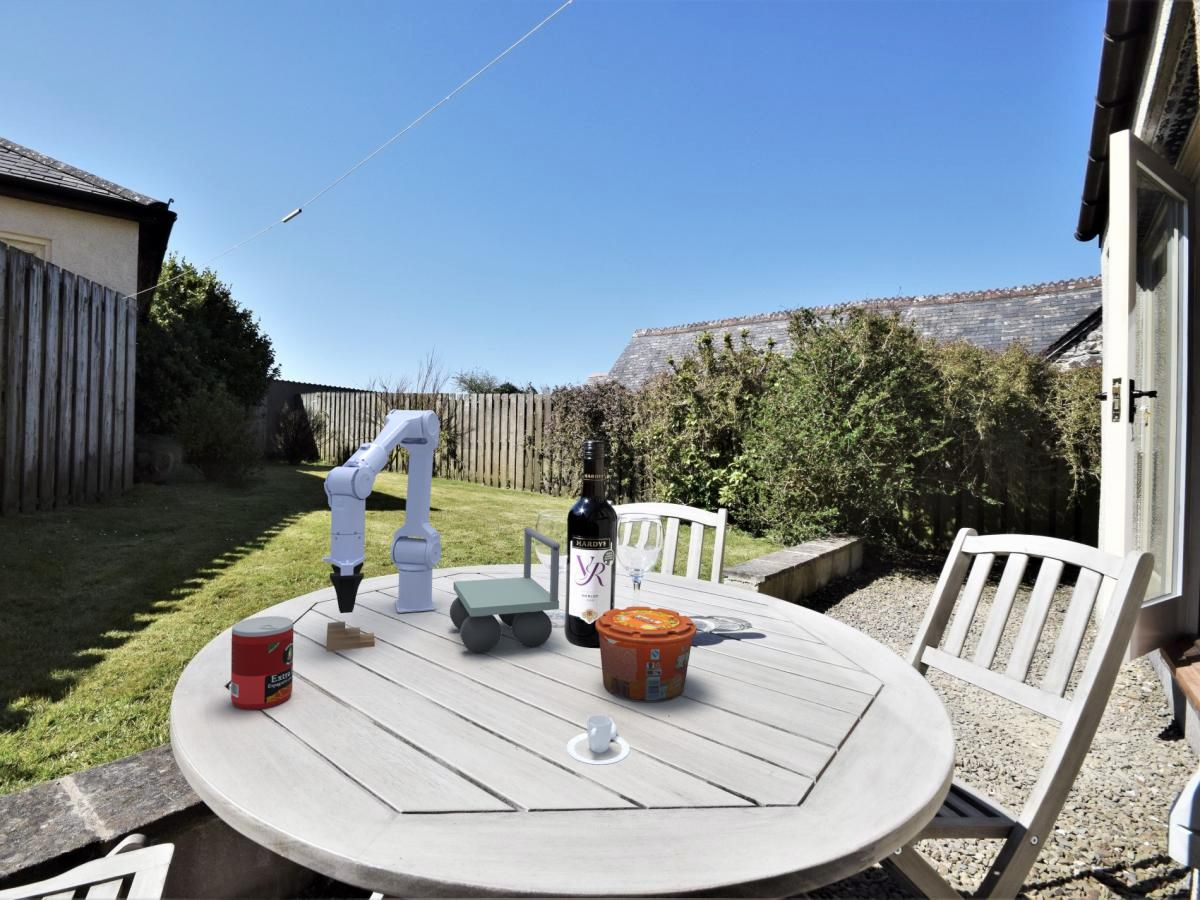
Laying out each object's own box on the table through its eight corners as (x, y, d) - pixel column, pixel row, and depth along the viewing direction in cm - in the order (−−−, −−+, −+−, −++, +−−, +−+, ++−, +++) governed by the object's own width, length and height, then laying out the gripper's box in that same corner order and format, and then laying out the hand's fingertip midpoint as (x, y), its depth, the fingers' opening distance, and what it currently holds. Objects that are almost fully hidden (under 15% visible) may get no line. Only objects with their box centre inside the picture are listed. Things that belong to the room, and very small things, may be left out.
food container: (709, 680, 100) (711, 615, 100) (669, 718, 86) (671, 642, 86) (623, 660, 108) (625, 599, 108) (574, 691, 95) (575, 622, 94)
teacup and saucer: (598, 728, 84) (598, 698, 84) (645, 748, 79) (646, 716, 79) (553, 752, 77) (554, 720, 77) (602, 776, 72) (603, 741, 72)
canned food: (274, 711, 85) (276, 632, 85) (218, 709, 85) (219, 631, 85) (302, 689, 93) (304, 616, 93) (250, 687, 93) (251, 615, 93)
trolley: (447, 626, 125) (449, 529, 124) (529, 618, 131) (531, 526, 131) (464, 660, 106) (466, 546, 106) (557, 650, 113) (560, 542, 112)
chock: (327, 643, 114) (327, 622, 114) (373, 639, 117) (373, 619, 117) (326, 652, 109) (327, 630, 109) (374, 648, 112) (375, 626, 112)
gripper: (325, 527, 117) (324, 598, 118) (322, 539, 104) (320, 619, 104) (365, 526, 120) (363, 595, 120) (366, 538, 107) (365, 616, 107)
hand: (346, 606), depth 112 cm, fingers open, 7 cm apart
